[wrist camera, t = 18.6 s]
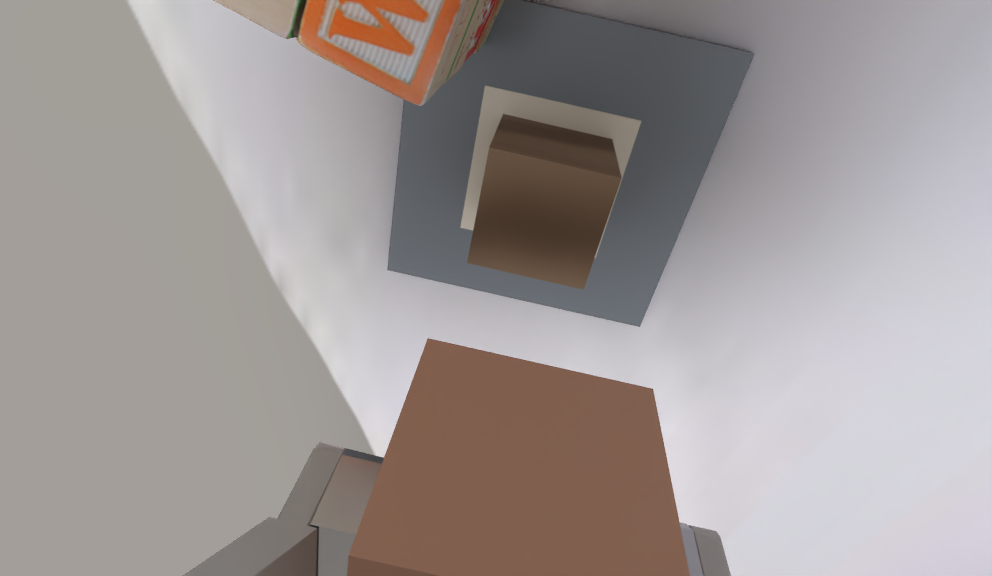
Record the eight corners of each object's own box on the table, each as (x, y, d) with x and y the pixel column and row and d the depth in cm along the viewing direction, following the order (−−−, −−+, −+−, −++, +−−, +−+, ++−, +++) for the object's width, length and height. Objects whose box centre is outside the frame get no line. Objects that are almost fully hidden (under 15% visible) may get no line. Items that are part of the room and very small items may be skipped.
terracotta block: (427, 338, 10) (348, 555, 7) (652, 388, 11) (701, 634, 7) (404, 484, 13) (336, 705, 9) (588, 525, 13) (597, 763, 9)
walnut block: (503, 113, 24) (489, 147, 20) (612, 139, 24) (621, 178, 20) (483, 214, 27) (466, 263, 22) (581, 236, 27) (583, 289, 23)
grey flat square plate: (419, -25, 22) (415, -24, 22) (750, 51, 22) (755, 54, 22) (390, 264, 30) (386, 270, 29) (638, 320, 30) (639, 327, 29)
